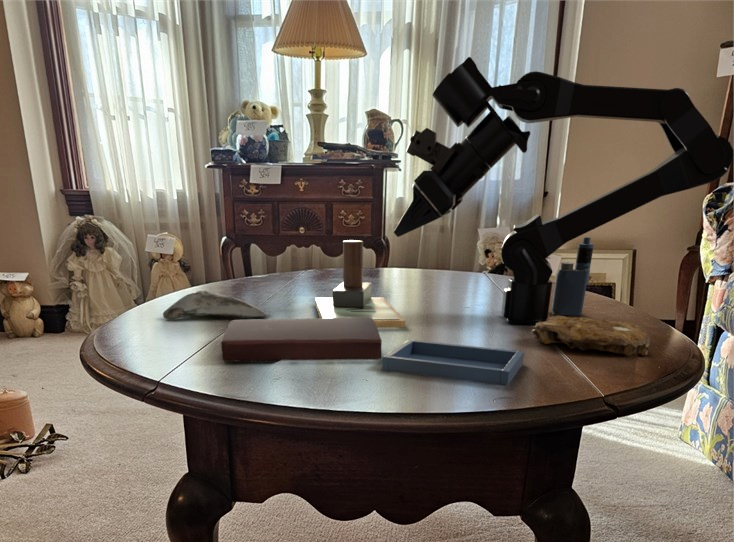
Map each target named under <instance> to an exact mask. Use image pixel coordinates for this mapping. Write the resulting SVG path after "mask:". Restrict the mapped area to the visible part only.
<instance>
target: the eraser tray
mask: <svg viewBox="0 0 734 542" xmlns="http://www.w3.org/2000/svg"><path fill="white" fill-rule="evenodd" d="M524 358H525V351H521V350H513V349H512V350H511V349H504V348H503V349H502V348H494V347H493V348H492V347H483V346H473V345H464V344H455V343H445V342H437V341H427V340H419V339H418V340H417V339H407V340H406V341H405V342H403V343H401V344H400V345H399V346H397V347H396V348H394V349H392V350H391V351H389V352H388V353H386V354H384V355H383V356H381V359H382V360H381V361H382V362H381V371H387V372H395V373H403V374H411V375H412V374H413V375H418V376H428V377H435V378H442V379H443V378H445V379H452V380H461V381H468V382H474V383H475V382H476V383H484V384H492V385H499V386H500V385H501V386H508V385H509V384H510V383H511V381H512V380H513V379H514V377H515V376H516V374H517V373H518V371H520V369H521V368H522V366H523V364H524Z"/></svg>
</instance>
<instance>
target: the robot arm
mask: <svg viewBox="0 0 734 542" xmlns="http://www.w3.org/2000/svg"><path fill="white" fill-rule="evenodd" d="M431 96H432V97H433V99H434V100H435V101H436V102H437V104H438V105H439V106H440V107H441V109H442V110H443V111H444V113H445V114H446V115H447V116H448V117H449V119H450V120H451V121H452V123H453V124H454V125H455V126H456V128H459V127H460V126H462V125H463V124H464V126H466V128H467V129H468V128H470V127H471V126H472V125H474V124H475V123H476V122H477V121H478V119H480V117H481V116H482V115H483V114H484V113H485V112H486V111H487V110H488V111H489V112H488V113H487V114H486V115H485V116H484V117H483V118H482V119H481V121H479V122H478V124H476V126H475V127H474V128H473V129H472V130H471V131H470V132H469V133H468V134H466V136H465V137H464V138H463V139H462V141H460V142H454V144H453V145H452V146H451V147H448V146H446V145H445V144H443V143H441V142H440V141H437V137H438V136H437V135H438V134H437V132H435V131H434V130H431V129H430V128H428V127H426V128H424V129H423V130H422V131H420V130H417V129H415V130H414V133H413V135H412V136H411V137H410V138H409V139H410V140H409V144H408V145H407V148H406V151H405V152H406V153H407V154H409V155H410V156H412V157H417V158H419V159H421V160H422V161H424V162H426V163H428V164H430V165H432V166H430V170H423V171H422V172H420V173H419V175H418V176H417V177H416V178H415V179H414V180H413V182H414V183H413V184H412V201H411V203H410V205H408V208H407V209H406V211H405V212H404V214H403V216H402V217H401V219H400V220H399V222H398V223H397V225H396V226H395V228H394V230H393V233H394V235H395V237H397V238H399V237H402V236H404V235H406V234H408V233H411V232H412V231H414V230H417V229H419V228H421V227H423V226H426V225H428V224H430V223H431V222H434V221H436V220H438V219H441V218H442V217H444V216H446V215H448V214H450V213H451V212H452V211H455V209H456V208H457V207H458V206H459V205H461V204H462V203H463V201H464V197H465V196H466V194H467V193H468V192H469V191H470V190H471V189H472V188H473V187H474V186H475V185H476V184H477V183H478V182H479V181H480V180H482V179H483V178H484V177H485V176H486V175H487V173H488V172H489V171H490V170H491V169H493V168H494V166H495V165H497V163H498V162H499V161H500V160H502V159H503V157H505V155H506V154H507V153H509V151H510V150H511V149H513V147H514V146H515V145H516V146H517V148H518V149H519V150H520V151H521V153H522V154H525V153H527V151H528V142H529V138H530V136H531V131H530V130H526V131H522V129H521V128H520V127H519V125H518V124H517V123H516V122H515V120H514V119H513V118H512V116H511V115H508V116H506V117H505V118H504V119H502V117H501V116H500V115H499V113H497V111H496V110H495V109H494V107H493V106H492V105H491V103H490V101H491V100H493V102H494V103H495V105H496V106H497V107H498V108H499V109H502V110H505V111H510V112H512V113H513V115H514V116H515V118H516V119H518V120H519V121H520V122H522V123H525V124H535V123H543V122H551V121H557V120H563V119H570V118H588V119H589V118H590V119H606V120H621V121H633V122H653V123H657V124H659V126H660V127H661V129H662V132H663V133H664V135H665V137H666V139H667V142H668V143H669V146H670V147H671V149H672V151H673V152H674V153H672V154H670V155H668V156H667V157H666V158H665V159H664V160H662V161H661V162H660V163H659V164H658V165H657V166H655V167H653V168H652V169H651V170H649V171H648V172H645V173H644V174H641V175H640V176H638V177H636V178H634V179H631V180H630V181H628V182H626V183H624V184H622V185H619V186H618V187H615V188H614V189H612V190H610V191H608V192H605V193H604V194H602V195H600V196H598V197H596V198H594V199H591V200H589V201H588V202H586V203H584V204H582V205H580V206H578V207H576V208H574V209H572V210H570V211H568V212H566V213H564V214H562V215H560V216H558V217H554V218H552V219H548V220H542V216H541V213H536V214H535V215H534V216H533V217H531V218H530V219H529V220H527V221H525V222H524V223H519V224H514V225H513V230H512V231H511V232H509V233H508V234H507V236H506V237H505V238H504V241H503V243H502V245H501V251H500V252H501V254H500V256H501V261H502V263H503V264H504V266H505V267H506V268H507V269H508V270H510V271H512V276H513V277H508V280H507V281H508V282H507V287H505V288H504V289H503V295H502V296H503V297H502V303H501V313H500V314H501V315H502V317H503V319H504V320H505V321H506V322H507V324H515V325H516V324H517V325H518V324H522V325H524V324H525V325H536V323H538V322H546V320H547V319H548V318H549V311H550V304H551V303H550V302H551V297H552V291H553V281H552V280H551V277H552V275H553V269H552V266H551V263H550V262H549V261H548V260H547V258H549V257H550V256H551V255H552V254H553V253H555V252H556V251H557V250H559V249H560V248H561V247H563V246H564V245H565V244H567V243H568V242H570V241H572V240H575V239H577V238H578V237H580V236H583V235H586V234H587V233H589V232H591V231H593V230H596V229H597V228H599V227H602V226H603V225H606V224H607V223H610V222H611V221H614V220H617V219H618V218H620V217H622V216H624V215H627V214H628V213H630V212H633V211H635V210H637V209H639V208H641V207H643V206H645V205H647V204H649V203H651V202H653V201H656V200H657V199H660V198H661V197H665V196H668V195H672V194H675V193H679V192H683V191H688V190H691V189H694V188H699V187H701V186H704V185H707V184H711V183H715V182H717V181H718V180H720V179H721V178H722V177H724V176H725V175H726V174H727V173H728V171H729V169H730V167H731V165H732V163H733V159H734V149H733V146H732V144H731V141H729V140H728V139H727V138H726V137H723V136H722V135H721V136H720V135H718V134H716V133H715V131H714V129H713V128H712V126H711V125H710V123H709V122H708V120H707V119H706V118H705V117H704V116H703V114H702V113H701V112H700V111H699V109H698V108H697V107H696V106H695V104H694V102H693V101H692V99H691V97H690V95H689V92H687V90H685V89H684V88H680V87H674V88H669V89H666V88H665V89H663V88H648V87H647V88H646V87H630V86H612V85H611V86H610V85H596V84H595V85H594V84H593V85H592V84H583V83H579V82H575V81H572V80H569V79H566V78H564V77H560V76H557V75H554V74H549V73H546V72H542V71H537V70H536V71H529V72H527V73H524V74H523V75H522V76H521V77H520V78H519V79H518V80H517V81H516V82H514V83H509V84H504V85H503V84H502V85H501V84H499V85H497V86H492V85H491V84H490V83H489V82H488V80H487V79H486V78H485V76H484V75H483V74H482V73H481V71H480V70H479V68H478V66H477V64H476V62H475V61H474V60H473V58H472V57H471V56H468V57H467V58H465V60H464V61H463V62H462V63H460V64H458V66H457V67H456V68H455V69H453V70H452V72H448V74H446V76H445V77H444V78H443V79H442V80H441V81H440V83H438V85H437V86H436V87H435V89H434V91H433V93H432V95H431Z"/></svg>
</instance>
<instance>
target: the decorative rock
mask: <svg viewBox="0 0 734 542" xmlns="http://www.w3.org/2000/svg"><path fill="white" fill-rule="evenodd" d="M531 332H532V334H533V335H534V336H533V337H534V338H535V339H536V340H538V341H539V342H540V343H541V344H545V345H549V344H554V343H555V344H565V345H567V346H568V347H569V348H570V349H574V348H577V349H579V350H581V351H587V350H588V349H589V350H598V351H601V352H610V353H615V354H622V355H624V356H626V357H631V356H633V355H636V354H637V355H640V356H648V349H649V347H650V345H651V339H650V337H649V335H648V332H647V331H646V330H644V329H643V327H642V326H641V325H636V324H635V325H633V324H632V323H629V322H624V321H609V320H605V319H601V320H600V319H593V318H589V317H586V316H585V317H578V316H577V317H576V316H571V317H568V316H559V315H553V316H551V315H550V316H548V319H547V320H546V322H538V323H536V324H535V325H534V328H533V329H532V330H531Z"/></svg>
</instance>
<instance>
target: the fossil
mask: <svg viewBox="0 0 734 542" xmlns="http://www.w3.org/2000/svg"><path fill="white" fill-rule="evenodd" d="M217 315H218V316H219V315H225V316H226V315H231V316H240V317H241V316H242V317H254V318H266V317H267V314H266V313H265V312H264V311H263V310H262V309H260V308H258V307H256V306H255V305H252V304H251V303H249V302H247V301H244V300H242V299H241V298H240V299H239V298H236V297H232V296H228V295H222V294H218V293H215V292H211V291H208V290H198V291H196V292H192V293H187V294H186V295H184V296H182V297H181V298H179V299H178V300H177V301H175V302H174V303H173V304H172V305H170V306H169V307H168V308H167V309H166V310H164V311H163V313H162V318H163V319H165V320H177V319H181V318H182V319H183V318H188V317H207V316H217Z"/></svg>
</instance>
